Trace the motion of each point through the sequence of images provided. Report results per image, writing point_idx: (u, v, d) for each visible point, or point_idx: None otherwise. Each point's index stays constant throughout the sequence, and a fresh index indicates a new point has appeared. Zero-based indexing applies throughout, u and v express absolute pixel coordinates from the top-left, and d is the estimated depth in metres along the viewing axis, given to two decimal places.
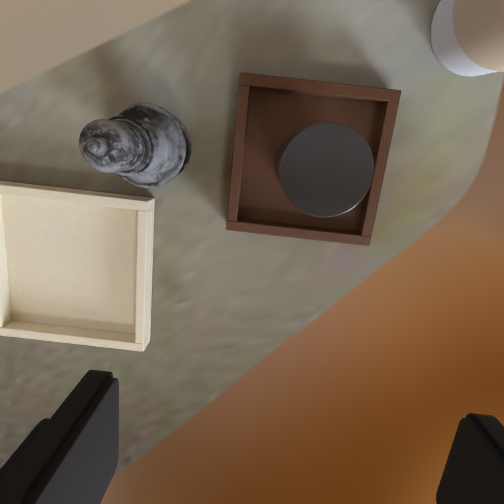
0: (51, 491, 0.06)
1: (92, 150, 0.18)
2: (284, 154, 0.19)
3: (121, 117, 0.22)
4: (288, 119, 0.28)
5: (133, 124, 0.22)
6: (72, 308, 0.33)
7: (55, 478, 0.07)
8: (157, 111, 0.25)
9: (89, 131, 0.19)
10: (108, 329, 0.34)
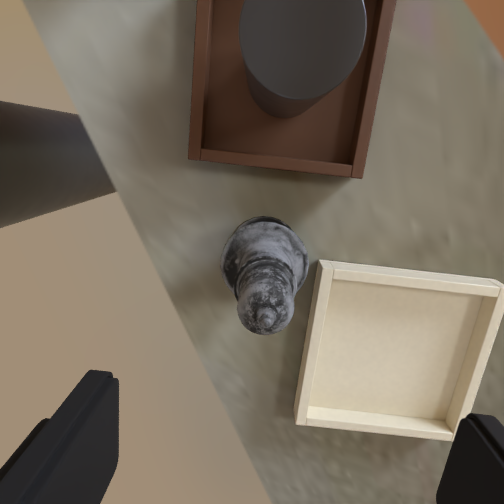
0: (51, 491, 0.06)
1: (270, 323, 0.16)
2: (278, 93, 0.15)
3: (235, 287, 0.20)
4: (235, 102, 0.24)
5: (242, 275, 0.20)
6: (439, 359, 0.29)
7: (55, 478, 0.07)
8: (228, 249, 0.24)
9: (250, 323, 0.17)
10: (472, 325, 0.28)
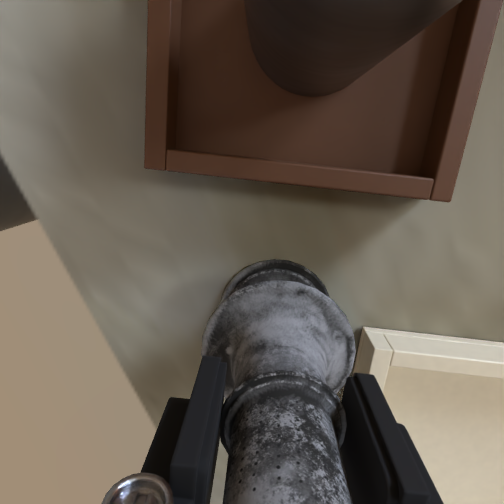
0: (211, 453, 0.08)
1: None
2: None
3: (222, 428, 0.10)
4: (227, 70, 0.14)
5: (236, 410, 0.10)
6: None
7: None
8: (215, 328, 0.13)
9: None
10: None
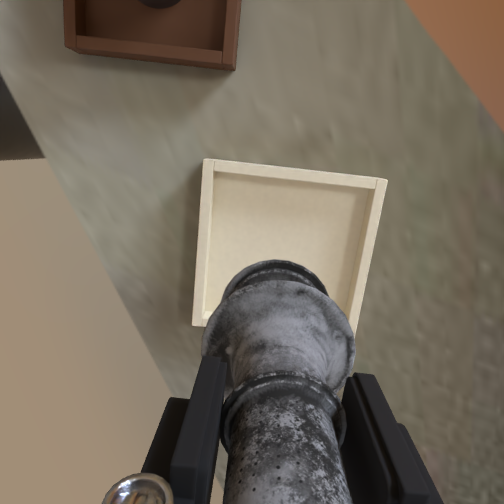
0: (211, 453, 0.08)
1: None
2: None
3: (221, 429, 0.10)
4: None
5: (235, 410, 0.10)
6: (331, 261, 0.30)
7: None
8: (215, 327, 0.13)
9: None
10: (360, 224, 0.29)
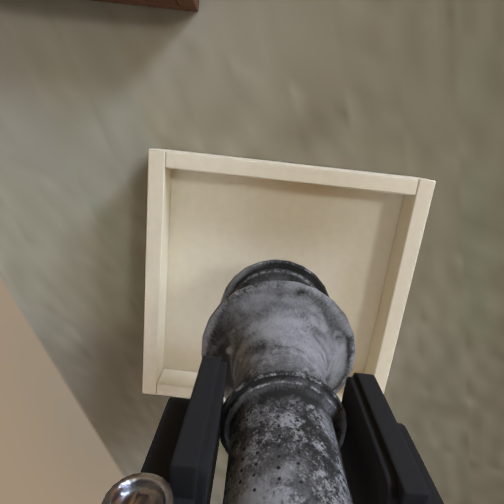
0: (211, 453, 0.08)
1: None
2: None
3: (222, 429, 0.10)
4: None
5: (236, 410, 0.10)
6: (345, 300, 0.20)
7: None
8: (215, 328, 0.13)
9: None
10: (389, 247, 0.19)
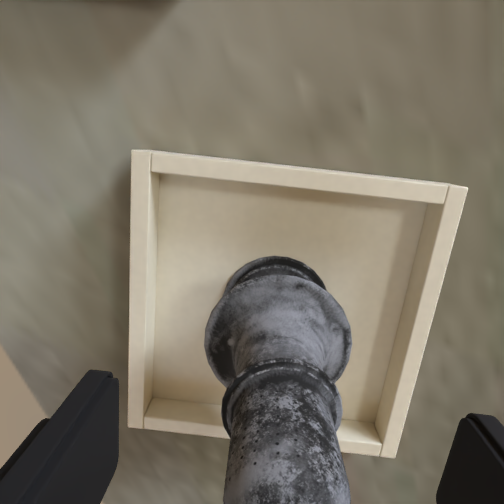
0: (51, 491, 0.06)
1: None
2: None
3: (224, 413, 0.11)
4: None
5: (237, 396, 0.10)
6: (359, 323, 0.18)
7: (55, 478, 0.07)
8: (217, 320, 0.14)
9: None
10: (410, 263, 0.17)
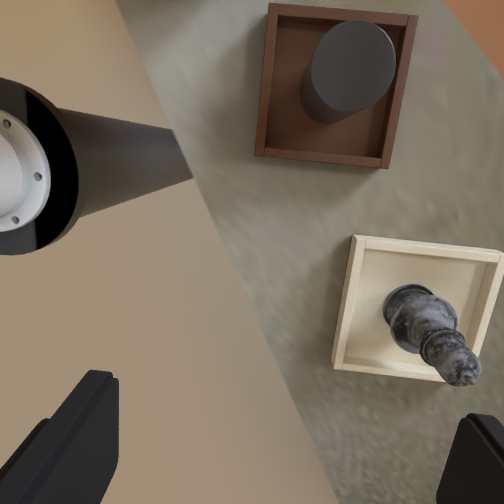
0: (51, 491, 0.06)
1: (474, 382, 0.25)
2: (336, 108, 0.22)
3: (421, 348, 0.29)
4: (290, 112, 0.32)
5: (428, 341, 0.29)
6: None
7: (55, 478, 0.07)
8: (398, 314, 0.32)
9: (452, 379, 0.26)
10: (478, 287, 0.35)
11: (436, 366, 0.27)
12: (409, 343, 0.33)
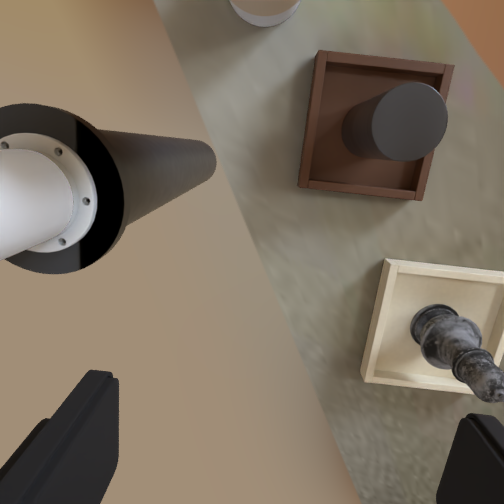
0: (51, 491, 0.06)
1: None
2: (392, 158, 0.25)
3: (453, 366, 0.32)
4: (331, 147, 0.34)
5: (460, 360, 0.31)
6: None
7: (55, 478, 0.07)
8: (429, 333, 0.35)
9: (486, 397, 0.29)
10: (498, 307, 0.38)
11: (470, 384, 0.30)
12: (438, 360, 0.35)
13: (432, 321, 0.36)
